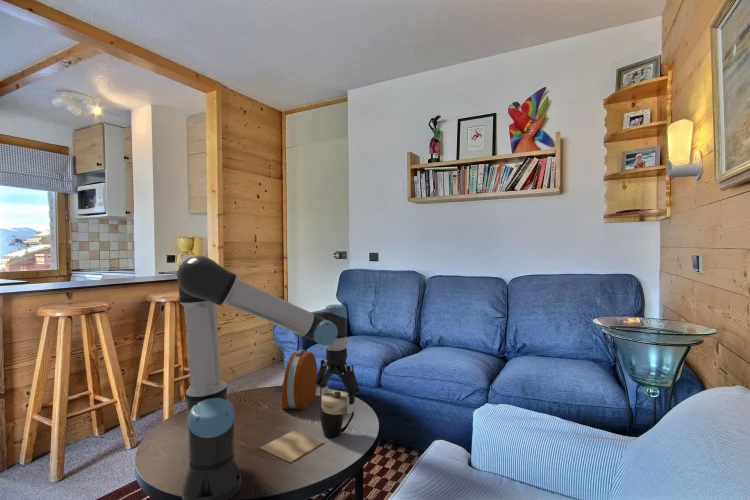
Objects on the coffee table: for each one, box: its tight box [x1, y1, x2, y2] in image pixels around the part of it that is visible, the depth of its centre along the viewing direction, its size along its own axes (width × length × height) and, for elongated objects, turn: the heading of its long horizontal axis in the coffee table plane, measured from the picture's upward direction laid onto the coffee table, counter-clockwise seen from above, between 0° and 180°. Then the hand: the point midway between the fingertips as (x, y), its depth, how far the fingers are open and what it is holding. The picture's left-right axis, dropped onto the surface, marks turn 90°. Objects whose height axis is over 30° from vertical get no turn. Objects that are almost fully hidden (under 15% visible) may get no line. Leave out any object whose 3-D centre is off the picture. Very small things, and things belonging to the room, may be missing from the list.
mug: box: [319, 406, 355, 439], centre depth 138 cm, size 8×12×10 cm
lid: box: [321, 390, 348, 415], centre depth 138 cm, size 11×11×6 cm
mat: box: [259, 429, 325, 464], centre depth 130 cm, size 15×15×1 cm
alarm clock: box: [281, 349, 318, 411], centre depth 167 cm, size 22×10×23 cm, turn 170°
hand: (337, 408), depth 138 cm, fingers open, 11 cm apart
